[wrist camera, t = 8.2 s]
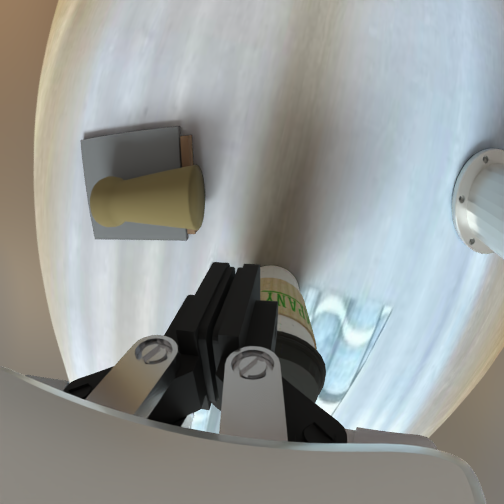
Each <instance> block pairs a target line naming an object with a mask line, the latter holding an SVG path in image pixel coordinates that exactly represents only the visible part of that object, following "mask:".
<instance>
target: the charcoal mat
mask: <svg viewBox="0 0 504 504" xmlns="http://www.w3.org/2000/svg"><path fill="white" fill-rule="evenodd" d="M81 150H82V160H83V169H84V177H85V184H86V191H87V198H88V204H89V210H90V216H91V221H92V226H93V232H94V237H95V239H120V240H180V241H187V239H188V233H187V229H184V228H176V227H168V226H160V225H151V224H143V223H135V222H126V221H125V222H124V223H123V224H122V225H120V226H117V227H105V226H102V225H100V224H99V223H97V222H96V221H95V219H94V218H93V216H92V213H91V209H90V196H91V191H92V189H93V187H94V185H95V184H96V183H97V182H98V181H99V180H101V179H103V178H106V177H109V176H114V177H119V178H122V179H123V180H128V179H132V178H136V177H140V176H145V175H149V174H154V173H158V172H163V171H167V170H172V169H177V168H182V158H181V140H180V126H177V127H167V128H157V129H148V130H140V131H133V132H126V133H119V134H112V135H106V136H100V137H95V138H89V139H84V140H81Z"/></svg>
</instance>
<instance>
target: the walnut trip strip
mask: <svg viewBox="0 0 504 504" xmlns="http://www.w3.org/2000/svg"><path fill="white" fill-rule="evenodd" d="M180 140H181V158H182V167H187V166H192V165H193V148H192V135H187V136H180ZM197 231H198V230H192V229H187V233H188V234H195V233H196V232H197Z"/></svg>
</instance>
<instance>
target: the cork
mask: <svg viewBox="0 0 504 504" xmlns="http://www.w3.org/2000/svg"><path fill="white" fill-rule="evenodd" d="M90 209H91V213H92V216H93V218H94V219H95V221H96V222H97V223H99V224H100V225H102V226H105V227H117V226H120V225H122V224H123V223H124V222H125V221H126V222H135V223H143V224H151V225H160V226H168V227H176V228H184V229H192V230H199V228H200V227H201V225H202V222H203V217H204V209H205V189H204V181H203V176H202V172H201V170H200V168H199V166H197V165H192V166H187V167H182V168H177V169H172V170H167V171H163V172H158V173H154V174H149V175H145V176H140V177H136V178H132V179H128V180H123V179H122V178H119V177H114V176H109V177H106V178H103V179H101V180H99V181H98V182H97V183H96V184H95V185H94V187H93V189H92V191H91V196H90Z"/></svg>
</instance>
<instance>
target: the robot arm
mask: <svg viewBox="0 0 504 504" xmlns="http://www.w3.org/2000/svg"><path fill="white" fill-rule="evenodd" d="M452 217H453V222H454V226H455V229H456V231H457V234H458V236H459V237H460V239H461V240H462V241H463V243H464V244H466V245H467V246H468V247H469V248H470V249H472V250H473V251H475V252H478V253H481V254H490V253H496V254H497V255H499V256H500V257H501V258H502V259H503V260H504V150H501V149H497V148H488V149H485V150H482V151H480V152H478V153H476V154H475V155H474V156H472V157H471V158H470V159H469V160H468V161H467V163H466V164H465V166H464V167H463V168H462V170H461V172H460V174H459V176H458V178H457V181H456V184H455V187H454V192H453V197H452ZM277 324H278V301H265V300H260V265H256V264H244V266H243V268H238V269H237V272H236V274H235V268H234V267H230V265H229V263H219V262H213V264H212V265H211V267H210V269H209V271H208V272H207V274H206V276H205V278H204V279H203V281H202V283H201V285H200V287H199V288H198V290H197V292H196V294H195V295H188V296H187V297H186V299H185V301H184V302H183V304H182V306H181V308H180V309H179V311H178V313H177V314H176V316H175V318H174V319H173V321H172V323H171V325H170V326H169V328H168V330H167V331H166V333H165V335H164V336H162V335H151V336H148V337H144V338H142V339H140V340H138V341H137V342H136V343H135V344H134V345H133V346H132V347H131V348H130V349H129V350H128V351H127V353H126V354H125V355H124V356H123V357H122V358H121V359H120V360H119V361H118V363H117V364H116V365H115V366H113V367H111V368H108V369H105V370H102V371H99V372H97V373H94V374H91V375H88V376H85V377H82V378H79V379H77V380H75V381H72V382H71V383H70V384H69V382H68V381H66V380H58V379H51V378H44V377H37V376H31V375H23V374H20V373H18V372H15V371H13V370H10V369H8V368H5V367H2V366H0V504H487V503H486V500H485V496H484V493H483V491H482V488H481V485H480V483H479V480H478V478H477V476H476V474H475V473H474V471H473V470H472V468H471V467H470V466H469V465H468V464H467V463H466V462H465V461H464V460H462V459H460V458H459V457H457V456H454V455H452V454H449V453H446V452H443V451H439V450H437V447H436V446H435V444H434V443H433V441H431V440H430V439H429V438H427V437H424V436H420V435H413V434H403V433H394V432H386V431H378V430H371V429H365V428H358V427H357V428H356V431H355V430H349V429H344V427H343V426H342V425H341V424H340V423H339V422H338V421H337V420H336V419H334V418H333V417H332V416H330V415H329V414H328V413H327V412H325V411H324V410H323V409H321V408H320V407H319V406H318V405H316V404H315V403H314V402H313V401H311V400H310V399H309V398H308V397H306V396H305V395H304V394H303V393H302V392H300V391H299V390H298V389H297V388H295V387H294V386H293V385H292V384H291V383H289V382H288V381H287V380H286V379H285V378H283V377H282V376H281V367H280V361H279V359H278V357H277V356H276V355H275V345H276V337H277ZM218 398H219V402H220V408H221V419H220V431H219V434H216V433H210V432H205V431H199V430H194V429H189V426H190V425H191V423H192V421H193V418H194V412H196V411H198V410H200V409H205V410H209V409H210V406H211V403H212V402H217V400H218Z"/></svg>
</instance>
